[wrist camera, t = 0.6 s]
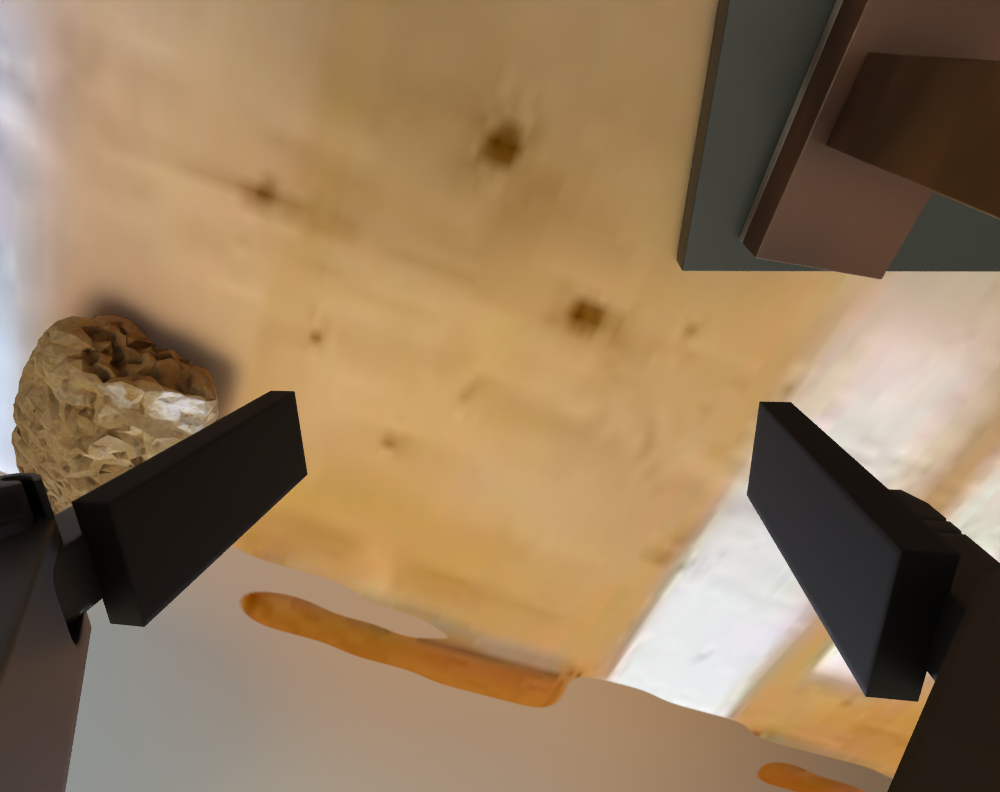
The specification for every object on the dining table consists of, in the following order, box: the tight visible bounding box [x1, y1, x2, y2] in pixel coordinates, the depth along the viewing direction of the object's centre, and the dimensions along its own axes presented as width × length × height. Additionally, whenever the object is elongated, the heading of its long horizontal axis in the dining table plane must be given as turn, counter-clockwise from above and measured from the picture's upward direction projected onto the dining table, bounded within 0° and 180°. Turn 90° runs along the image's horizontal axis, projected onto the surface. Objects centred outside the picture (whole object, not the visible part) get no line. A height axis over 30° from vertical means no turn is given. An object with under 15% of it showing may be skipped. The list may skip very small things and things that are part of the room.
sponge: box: [12, 315, 219, 515], centre depth 34 cm, size 13×8×20 cm
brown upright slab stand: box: [739, 0, 1000, 279], centre depth 15 cm, size 12×6×15 cm, turn 172°
